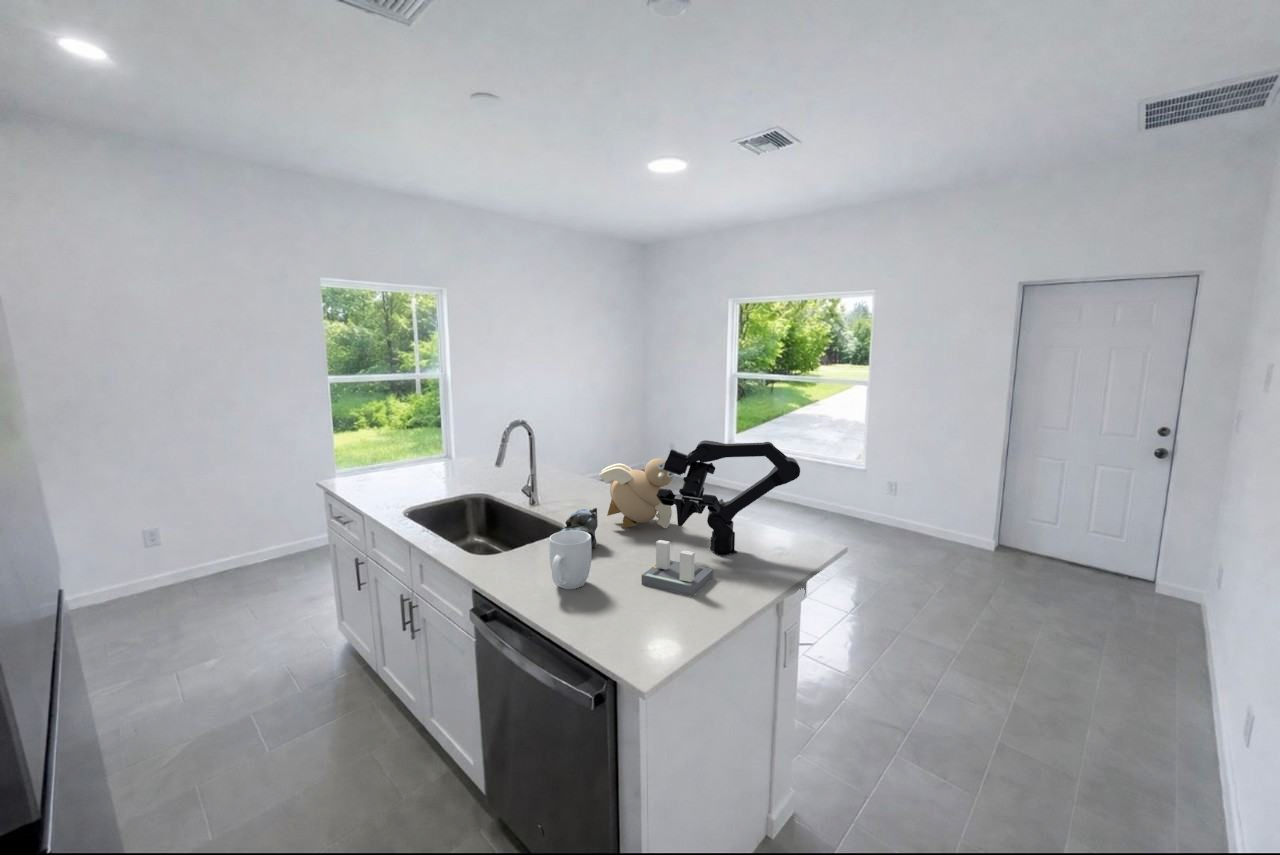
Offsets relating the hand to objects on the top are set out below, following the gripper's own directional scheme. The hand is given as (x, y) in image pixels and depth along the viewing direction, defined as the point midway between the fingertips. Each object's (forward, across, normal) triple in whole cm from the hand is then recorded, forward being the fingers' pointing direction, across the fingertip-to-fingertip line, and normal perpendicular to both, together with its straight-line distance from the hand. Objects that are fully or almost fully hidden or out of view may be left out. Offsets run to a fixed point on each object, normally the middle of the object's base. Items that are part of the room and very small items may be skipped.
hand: (679, 525), depth 155 cm
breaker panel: (+16, -5, 0) cm, 17 cm away
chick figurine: (-9, +29, -26) cm, 40 cm away
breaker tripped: (+14, -1, +2) cm, 14 cm away
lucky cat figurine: (+10, +34, -6) cm, 36 cm away
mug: (+28, +18, +12) cm, 35 cm away
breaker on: (+17, -9, +5) cm, 20 cm away
